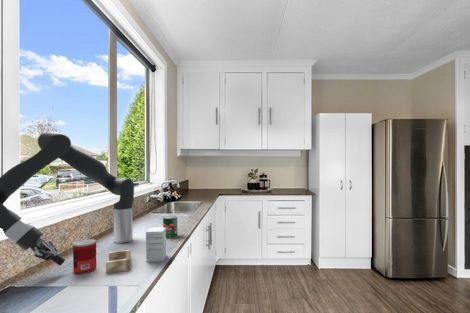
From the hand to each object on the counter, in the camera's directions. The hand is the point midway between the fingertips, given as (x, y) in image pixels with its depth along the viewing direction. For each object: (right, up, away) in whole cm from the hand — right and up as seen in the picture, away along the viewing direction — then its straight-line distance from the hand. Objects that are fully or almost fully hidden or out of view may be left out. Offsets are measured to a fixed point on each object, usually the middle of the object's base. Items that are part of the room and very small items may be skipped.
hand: (62, 262), depth 105 cm
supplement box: (+32, -4, +14) cm, 35 cm away
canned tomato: (+30, -4, +48) cm, 57 cm away
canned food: (+7, -4, +2) cm, 9 cm away
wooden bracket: (+19, -4, +7) cm, 20 cm away
